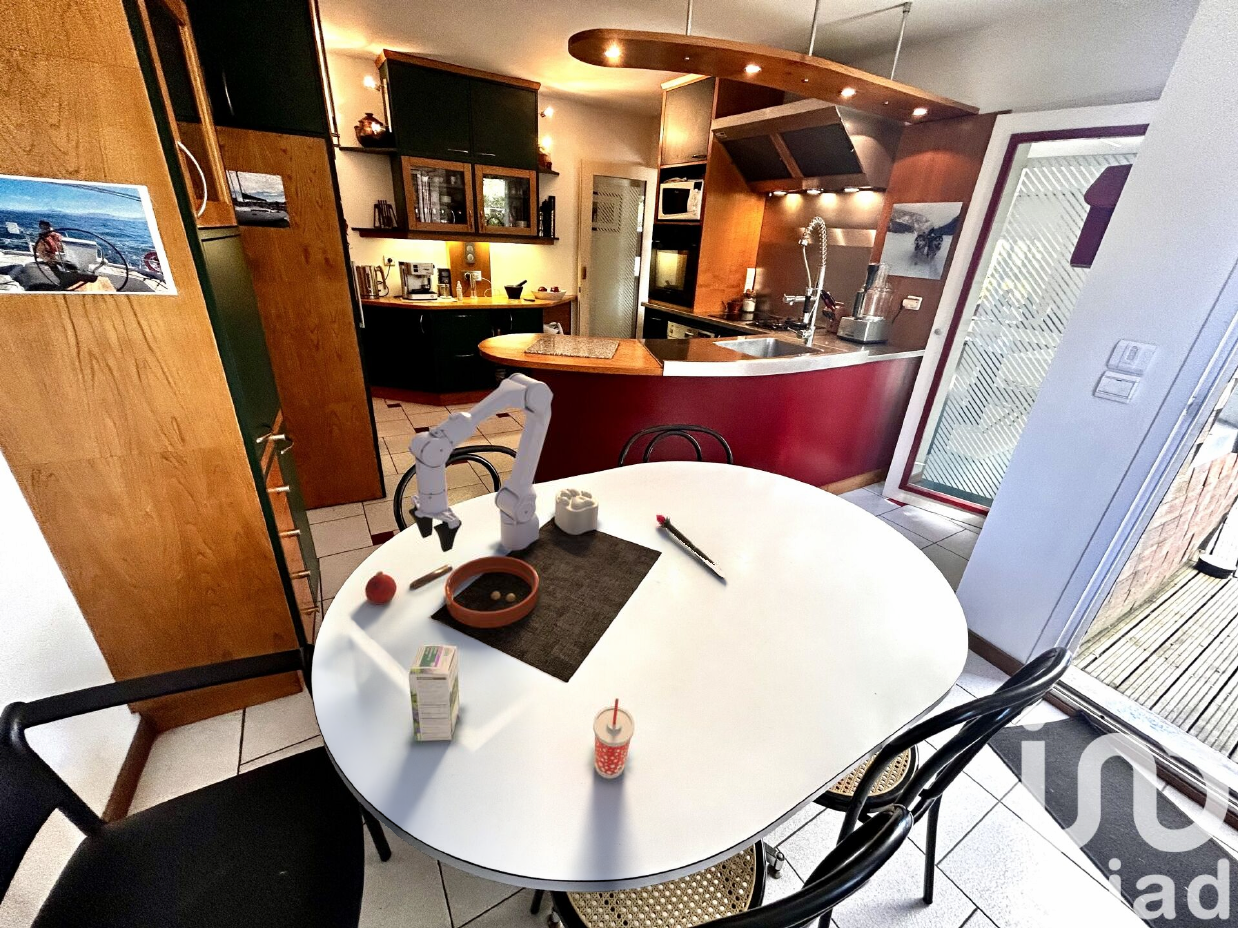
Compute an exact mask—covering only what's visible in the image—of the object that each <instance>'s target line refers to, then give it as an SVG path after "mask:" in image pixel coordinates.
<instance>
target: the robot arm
mask: <svg viewBox="0 0 1238 928" xmlns="http://www.w3.org/2000/svg"><path fill="white" fill-rule="evenodd" d="M553 397H554V393H553V392H552V391H551V388H550V387H549V386H548V385H547V384H546V383H545V382H543V381H538V380H536V379H534V378H531V377H528V376H526V375H525V374H523V373H520V372H515V373H513V374H511V375H510V376H509V377H508V378H505V379H503V380H502V381H501V382H500V384H499V387H498V388H496V389H495V390H493V391H492V392H491V393H490V394H489V395H487V396H486V397H485V398H483V400H481V401H480V402H478V403H476V405H474V406H473V407H472V408H471V409H469V410H468V411H467V412H466V411H465V412H464V411H457V412H456V413H455V412H451V413H450V414H448V418H446V419H445V420H443V421H442V422H440V423H439V424H438V425H436V426H435V427H434V426H432V427H431V428H429V431H422V432H419V433H417V434H416V435H415V436H414V437H413V438H412V440H411V442H410V445H408V451H409V453H410V454H411V456H413V457H414V463H415V475H416V485H417V494H414V495H411V496H410V503H411V505H412V506H413V508H410V509H409V510H408V514H409V515H410V516H411V517H412V519H413V520H414V522H415V523H416V526H417V528H418V531H419V533H420V536H421V538H422V539H426V538H428V537H431V536H432V535H433V530H434V531H435V532H436V534H437V536H438V539H439V543H440V548H441V551H442V552H443V553H446V552H449V551H451V550H453V548H454V542H455V538H456V536H457V533H458V531H459V530H460V528H461V526H462V525H463V522H462V520H461V519H460V518H459V516H457V515H456V514H455V513H454V510H453V508H452V507H451V506H450V504H449V498H448V485H447V469H446V462H447V461H448V460H449V458H450V455H451V453H452V452H454V450H455V449H456V448H457V447H459V446H460V445H462V444H463V443H464V442H466V441H467V440H468V439H470V438H471V437H473V436H474V435H475V434H476V432H477V428H478V426H479V425H481V424H483V423H484V422H486V421H487V420H489V419H491V418H492V417H494V416H495V415H498V413H500V412H502V411H504V410H505V409H508V408H514V409H520V410H521V411H522V413H523V414H524V415H525V421H524V424H523V428H522V432H521V436H520V439H519V443H518V446H517V451H516V454H515V458H514V461H513V465H512V468H511V472H510V476H509V478H507V479H505V480H503V481H502V482H501V485H500V488H499V489H498V491H497V492H496V494H495V496H494V505H495V506H496V508H498V509H499V514H500V515H499V517H500V519H499V523H500V546H502V548H503V549H506V550H508V551H520V550H523V549H526V548H527V547H528V546H530V544H532V543H533V542H536V541H537V540H538V539H540V520H539V517H538V515H537V513H536V511H537V505H536V501H537V497H538V496H537V493H536V490H535V488H534V485H533V481H534V478H535V475H536V471H537V468H538V464H539V461H540V456H541V453H542V450H543V446H544V443H545V439H546V436H547V432H548V429H549V428H548V427H549V424H550V421H551V418H552V407H551V406H552V405H551V403H552V400H553ZM434 520H438V521H441V523H439V524H436V525H434V524H433V523H434V522H433V521H434ZM433 525H434V526H433Z"/></svg>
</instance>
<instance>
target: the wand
mask: <svg viewBox="0 0 1238 928" xmlns="http://www.w3.org/2000/svg"><path fill="white" fill-rule="evenodd" d="M655 516H656V521H657V522H658V525H659V526H658V528H661V529H666V528H667V529H666V530H668V531H669V532H670V533H671V534H672V535H673V534H674V535H673V536H674V537H675V536H676V537H677V538H678V539H677V538H676V537H675V538H676V539H677V540H678V541H680V540H681V541H682V542H683V543H685V545H687V546H688V547H690V548H691V549H692V550H693V551H694V552H696V553H697V554H698V555H699V556H701V557H702V558H704V559H705V560H708V561H709V562H710V563H712V564H713V563H715V562H714V561H713V560H712V559H711V558H710V557H709V556H708V555H706V553H704V552H703V551H702V550H701V549H700V548H698V547H697V546H696V545H695V544H693V542H692V541H691V540H690V539H689V538H687V537H686V536H685V535H684V534H683V533H682V532H681V531H680V530H679V529H677V528H676V527H675V525H673V524H672V523H671V518H670V517H668V516H666V517H665V516H664V515H663V514H656V515H655ZM660 526H661V527H660ZM681 541H680V542H681ZM682 542H681V543H682ZM683 543H682V544H683ZM685 545H684V546H685ZM688 547H687V548H688ZM692 550H690V551H691V552H692V553H693V551H692ZM694 555H695V557H697V558H698V559H699V560H700V561H701V562H702V560H701V559H700V558H699V557H698V556H697V555H696V554H694ZM709 558H710V559H709ZM703 564H705V562H703ZM715 564H716V563H715ZM715 564H713V565H715Z"/></svg>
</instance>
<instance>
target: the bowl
mask: <svg viewBox="0 0 1238 928" xmlns="http://www.w3.org/2000/svg"><path fill="white" fill-rule="evenodd" d="M489 573H506V574H511V575H514V576H517V577H519V578H521V579H522V580H524V581H525V582H526V583H527V584H528V585H529V587H530V590H531V593H530V594H529V595H528V596H527V597H526V598H525V599H524V600H523V601H520V602H519V603H517V604H516V605H514V606H510V607H507V608H505V609H501V610H495V611H480V610H479V611H478V610H473V609H469V608H466V607H464V606H461V605H459V604H458V603H457V602H455V600H454V597H455V596H454V595H455V593H456V591H457V590H458V588H459V587H460V586H461V585H463V584H464V583H465V582H466V581H468V580H470V579H472V578H475V577H476V576H480V575H483V574H489ZM444 595H445V596H444V597H445V605H446V609H447V611H448V613H449V614H450V616H451V617H452V618H454V620H456V621H457V622H460V623H461V624H464V625H466V626H469V627H475V628H481V629H483V628H484V629H486V628H487V629H490V628H499V627H503V626H508V625H510V624H513V623H515V622H518V621H519V620H521V619H523V618H524V617H525V616H527V615H529V613H530V612H531V611H532V610H533V608H535V606H536V604H537V602H538V599H539V576H538V574H537V572H536V570H535V569H534V568H533V567H532V566H531V565H530V564H528V563H527V562H526V561H523V560H522V559H518V558H515V557H512V556H506V555H489V556H483V557H478V558H475V559H472V560H469V561H467V562H465V563H463V564H461V565H459V566H458V567H457V568H455V569H454V570H452V571H451V573H450V575H449V576H448V577H447V579H446V582H445V585H444Z"/></svg>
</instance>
